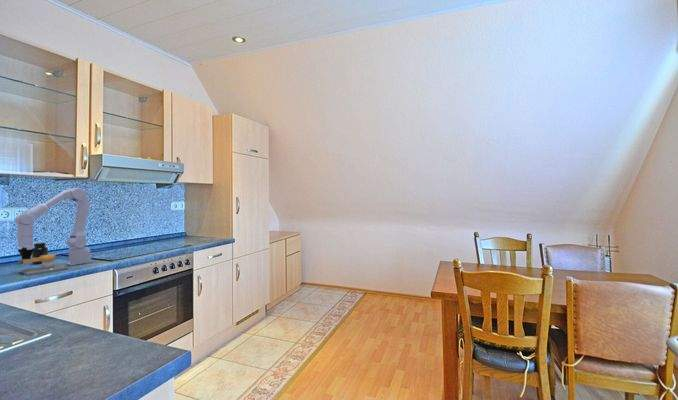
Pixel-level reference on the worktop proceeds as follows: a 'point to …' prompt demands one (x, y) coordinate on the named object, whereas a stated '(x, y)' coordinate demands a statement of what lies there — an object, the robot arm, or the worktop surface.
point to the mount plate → (44, 268)
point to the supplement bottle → (39, 251)
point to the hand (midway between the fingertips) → (26, 262)
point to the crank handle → (38, 259)
